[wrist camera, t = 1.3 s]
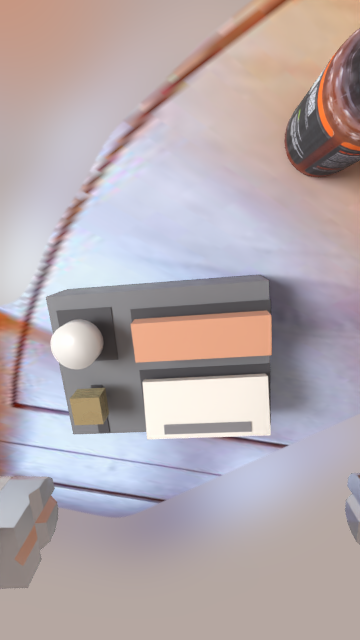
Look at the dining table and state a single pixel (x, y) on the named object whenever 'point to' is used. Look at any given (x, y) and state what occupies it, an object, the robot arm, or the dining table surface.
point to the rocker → (207, 406)
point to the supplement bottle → (329, 117)
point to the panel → (118, 352)
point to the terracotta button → (202, 336)
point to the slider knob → (89, 406)
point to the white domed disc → (77, 344)
